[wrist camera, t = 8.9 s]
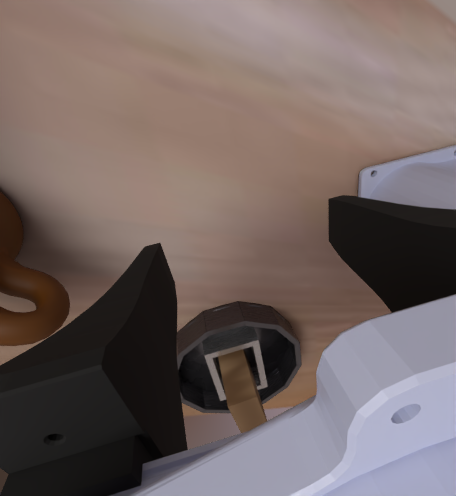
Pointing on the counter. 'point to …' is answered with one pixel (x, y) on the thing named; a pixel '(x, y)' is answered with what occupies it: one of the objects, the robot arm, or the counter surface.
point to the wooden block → (241, 391)
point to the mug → (26, 288)
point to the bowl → (230, 340)
